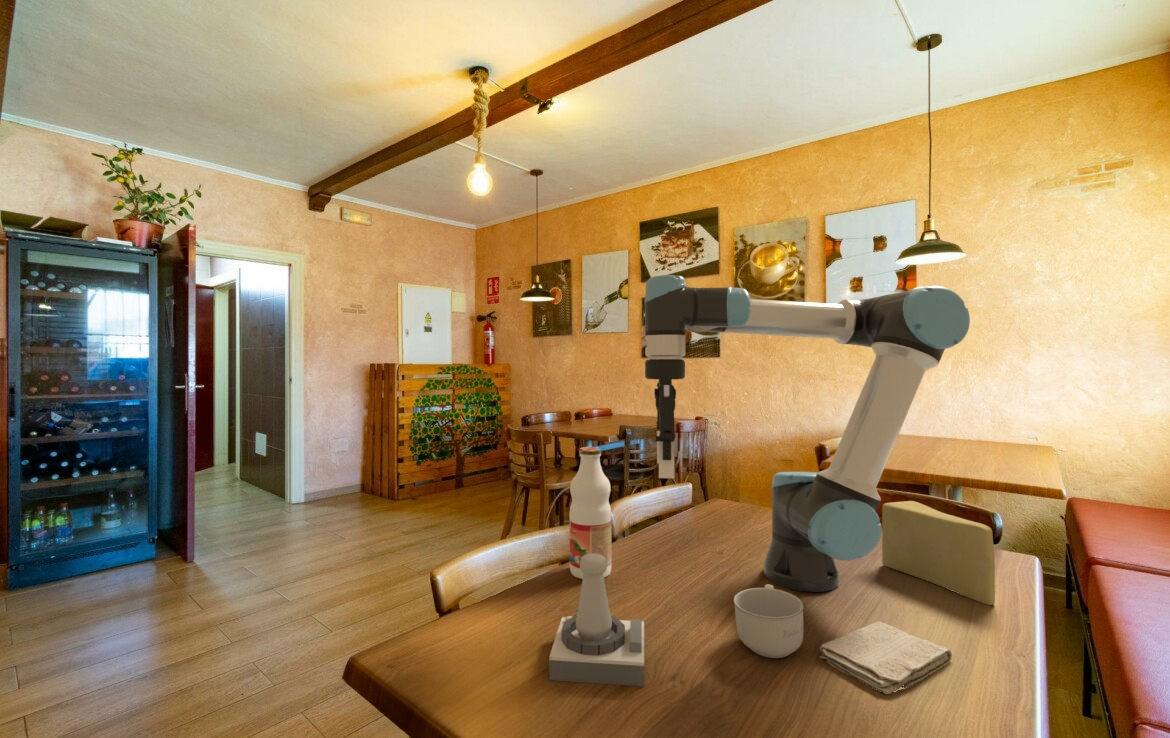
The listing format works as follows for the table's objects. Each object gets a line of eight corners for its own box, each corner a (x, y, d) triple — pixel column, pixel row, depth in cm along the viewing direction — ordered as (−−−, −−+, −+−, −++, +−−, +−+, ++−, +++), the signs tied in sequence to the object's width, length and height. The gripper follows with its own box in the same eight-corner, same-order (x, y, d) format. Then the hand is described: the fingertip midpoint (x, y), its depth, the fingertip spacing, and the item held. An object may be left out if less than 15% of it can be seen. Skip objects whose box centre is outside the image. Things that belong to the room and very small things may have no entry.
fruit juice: (612, 581, 111) (612, 451, 111) (568, 581, 111) (568, 451, 111) (610, 564, 121) (610, 444, 120) (570, 564, 121) (570, 444, 121)
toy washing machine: (644, 642, 87) (644, 612, 87) (644, 686, 75) (644, 652, 75) (562, 637, 89) (562, 608, 88) (549, 680, 77) (549, 646, 77)
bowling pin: (619, 637, 82) (619, 555, 82) (595, 652, 78) (595, 566, 78) (591, 624, 86) (591, 546, 86) (568, 638, 82) (567, 556, 82)
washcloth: (814, 661, 82) (814, 642, 82) (877, 630, 91) (877, 613, 91) (891, 703, 72) (891, 681, 72) (953, 664, 81) (953, 644, 81)
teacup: (796, 675, 78) (796, 622, 78) (725, 653, 83) (725, 604, 83) (811, 633, 90) (811, 587, 89) (748, 617, 95) (748, 574, 95)
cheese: (1012, 603, 101) (1012, 527, 101) (973, 609, 98) (973, 531, 98) (913, 561, 122) (914, 498, 122) (879, 565, 120) (880, 501, 120)
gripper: (644, 358, 111) (645, 457, 111) (645, 357, 86) (645, 484, 86) (680, 358, 110) (680, 458, 110) (690, 357, 85) (691, 485, 85)
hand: (665, 470), depth 98 cm, fingers open, 13 cm apart
